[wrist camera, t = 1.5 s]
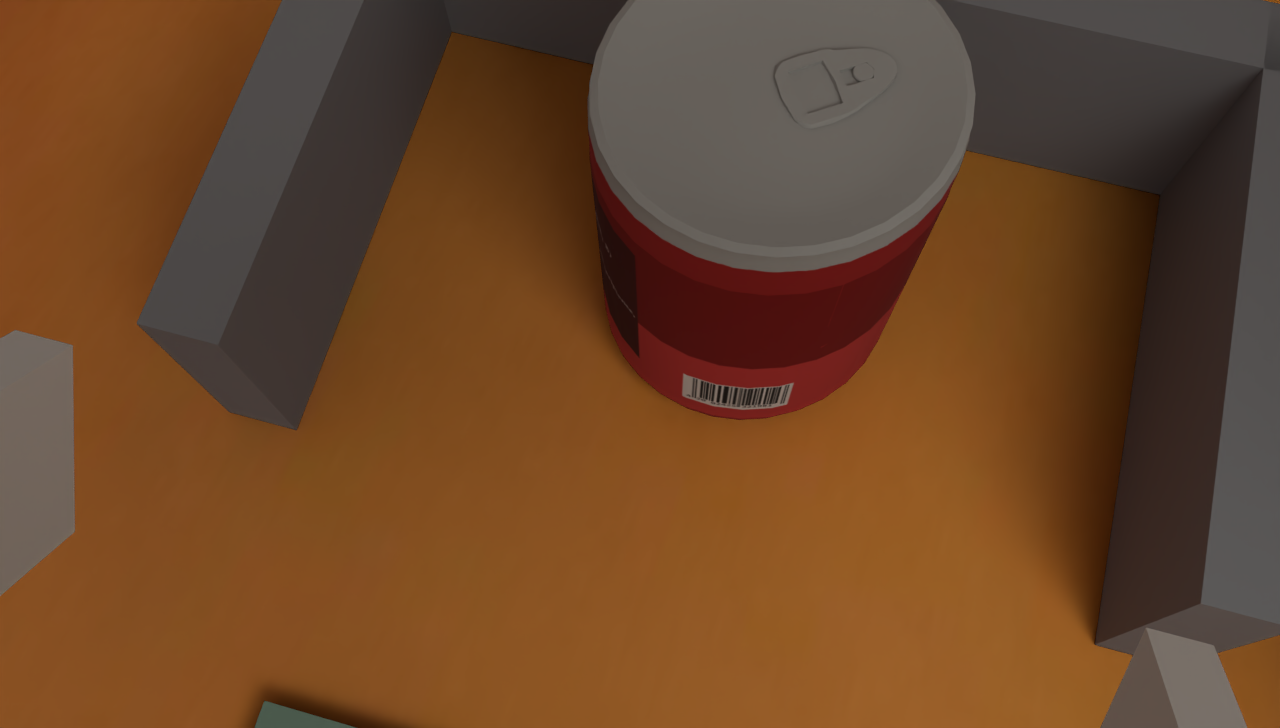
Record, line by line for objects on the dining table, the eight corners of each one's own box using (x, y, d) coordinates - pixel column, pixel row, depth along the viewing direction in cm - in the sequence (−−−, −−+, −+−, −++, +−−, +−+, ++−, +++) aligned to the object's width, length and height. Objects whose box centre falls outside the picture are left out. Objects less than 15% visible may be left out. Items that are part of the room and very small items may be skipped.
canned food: (938, 328, 35) (1059, 121, 24) (710, 486, 33) (735, 336, 23) (774, 135, 37) (821, -129, 27) (553, 275, 35) (512, 51, 25)
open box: (1236, 152, 36) (1353, 19, 30) (1173, 665, 31) (1298, 629, 25) (412, -34, 39) (367, -190, 33) (229, 411, 34) (136, 323, 28)
